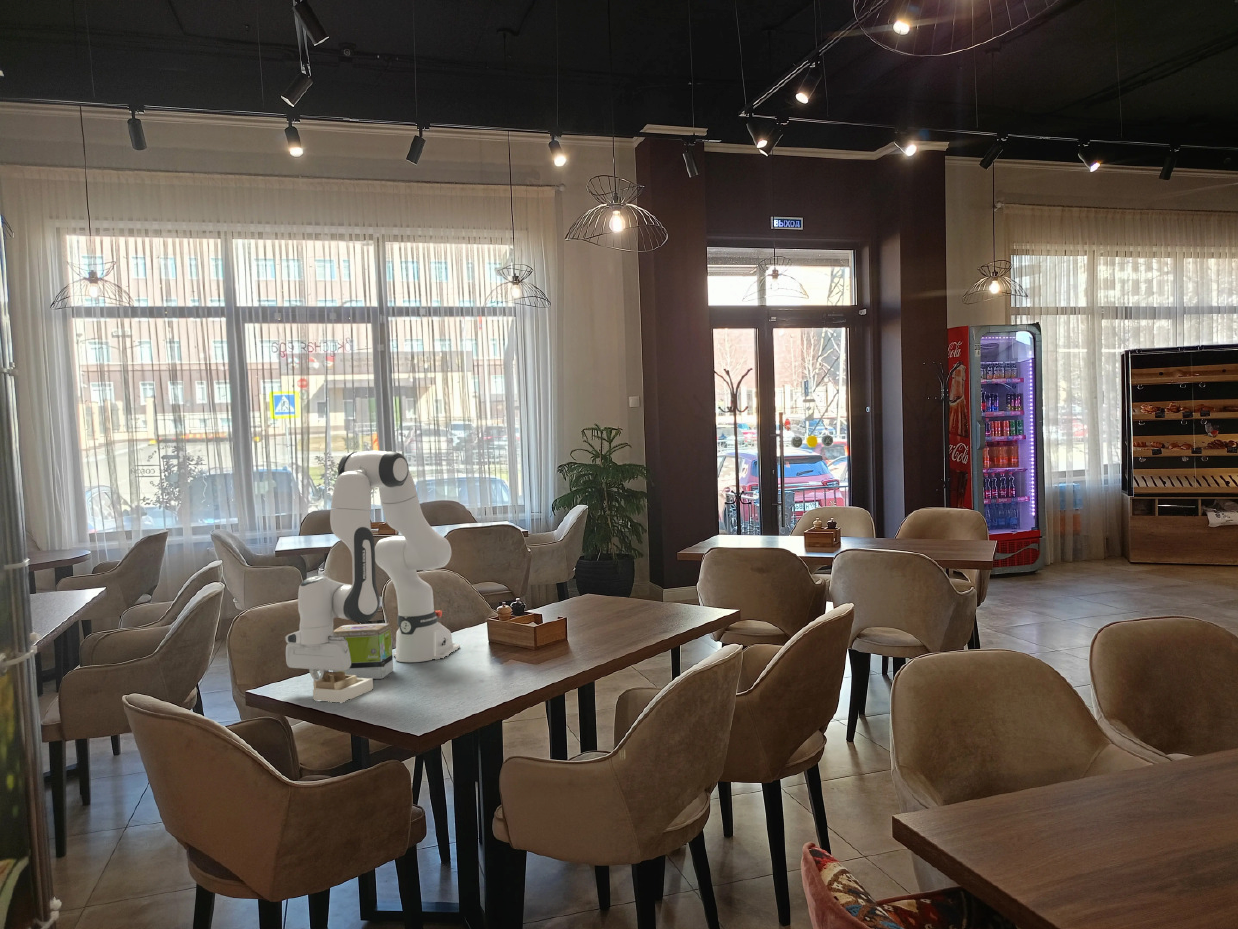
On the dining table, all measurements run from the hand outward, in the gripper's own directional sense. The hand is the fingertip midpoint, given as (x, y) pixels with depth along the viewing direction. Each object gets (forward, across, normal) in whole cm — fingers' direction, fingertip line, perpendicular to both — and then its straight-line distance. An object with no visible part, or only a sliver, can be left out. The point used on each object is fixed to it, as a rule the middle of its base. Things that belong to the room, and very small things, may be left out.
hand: (319, 684), depth 240 cm
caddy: (+2, -6, 0) cm, 6 cm away
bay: (+2, -7, 0) cm, 8 cm away
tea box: (+3, 0, -18) cm, 18 cm away
